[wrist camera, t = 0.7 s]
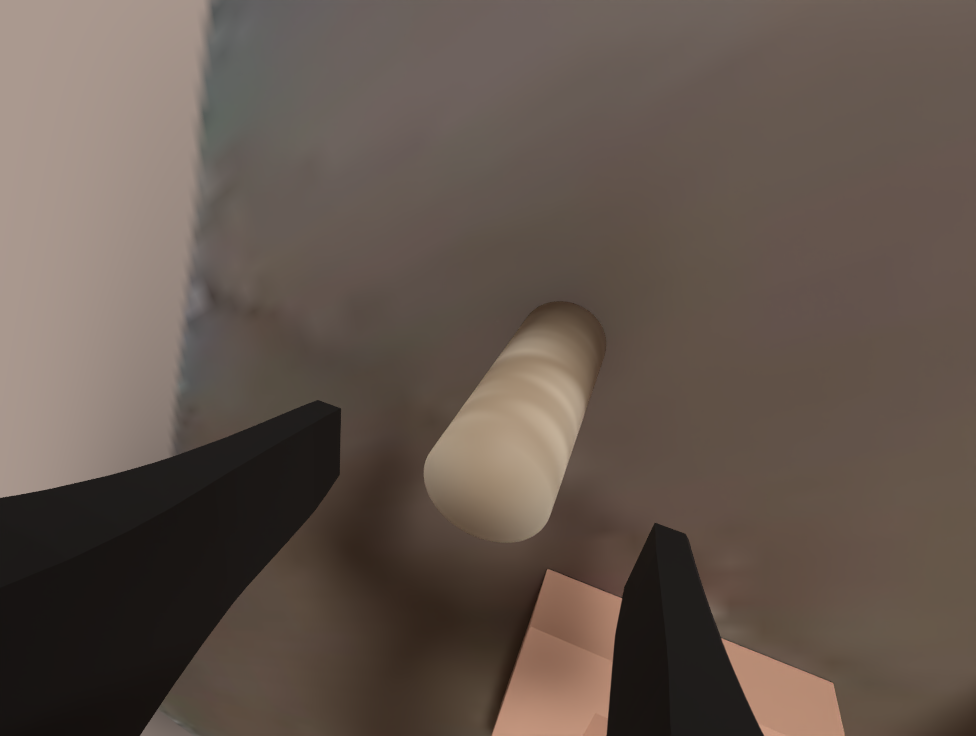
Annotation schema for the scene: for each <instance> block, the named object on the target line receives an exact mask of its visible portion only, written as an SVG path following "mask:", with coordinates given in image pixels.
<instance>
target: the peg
mask: <svg viewBox="0 0 976 736" xmlns="http://www.w3.org/2000/svg"><path fill="white" fill-rule="evenodd" d="M605 351H606V337H605V333H604V330H603V328H602V326H601V324H600V323H599V321H598V320H597V319H596V318H595V316H594V315H593V314H591V313H590V312H589V311H588V310H586V309H585V308H583V307H581V306H579V305H576V304H574V303H570V302H563V301H557V302H550V303H546V304H543V305H541V306H539V307H538V308H536V309H535V310H533V311H532V312H531V313H530V314H529V315H528V317H527V318H526V319H525V321H524V322H523V324H522V325H521V326H520V328H519V329H518V331H517V332H516V333H515V335H514V336H513V337H512V339H511V340H510V342H509V343H508V344H507V346H506V347H505V349H504V350H503V351H502V353H501V354H500V356H499V357H498V358H497V360H496V361H495V363H494V364H493V365H492V367H491V368H490V369H489V371H488V372H487V374H486V375H485V376H484V378H483V379H482V381H481V382H480V383H479V385H478V386H477V388H476V389H475V390H474V392H473V393H472V395H471V396H470V397H469V399H468V400H467V401H466V403H465V404H464V406H463V407H462V408H461V410H460V411H459V413H458V414H457V415H456V417H455V418H454V420H453V421H452V422H451V424H450V425H449V427H448V428H447V429H446V431H445V432H444V433H443V435H442V436H441V438H440V439H439V440H438V442H437V443H436V445H435V446H434V447H433V449H432V450H431V452H430V453H429V455H428V457H427V459H426V462H425V466H424V481H425V486H426V489H427V492H428V494H429V496H430V498H431V500H432V502H433V503H434V505H435V506H436V508H437V509H438V510H439V511H440V512H441V514H442V515H443V516H444V517H445V518H446V519H448V520H449V521H450V522H451V523H452V524H454V525H455V526H457V527H458V528H459V529H461V530H463V531H465V532H466V533H468V534H470V535H473V536H475V537H478V538H481V539H483V540H488V541H492V542H499V543H511V542H518V541H523V540H526V539H528V538H530V537H532V536H534V535H536V534H537V533H538V532H540V531H541V529H542V528H543V527H544V526H545V525H546V523H547V522H548V519H549V517H550V514H551V511H552V508H553V505H554V502H555V500H556V497H557V494H558V491H559V488H560V485H561V482H562V479H563V476H564V473H565V470H566V467H567V464H568V461H569V458H570V455H571V453H572V450H573V447H574V444H575V441H576V438H577V435H578V432H579V429H580V426H581V423H582V420H583V417H584V414H585V411H586V408H587V405H588V403H589V400H590V397H591V394H592V391H593V388H594V385H595V382H596V379H597V376H598V373H599V370H600V367H601V364H602V361H603V358H604V355H605Z"/></svg>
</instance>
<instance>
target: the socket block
mask: <svg viewBox="0 0 976 736" xmlns="http://www.w3.org/2000/svg"><path fill="white" fill-rule="evenodd" d="M621 602H622V598H620V597H617V596H615V595H612V594H610V593H607V592H605V591H602V590H600V589H597V588H595V587H592V586H590V585H587V584H585V583H582V582H580V581H577V580H575V579H572V578H570V577H567V576H565V575H562V574H560V573H557V572H555V571H552V570H550V569H547V571H546V574H545V577H544V580H543V583H542V586H541V589H540V592H539V595H538V598H537V601H536V604H535V606H534V609H533V612H532V615H531V618H530V621H529V624H528V627H527V630H526V633H525V636H524V639H523V641H522V644H521V647H520V650H519V653H518V656H517V659H516V662H515V665H514V668H513V671H512V674H511V677H510V679H509V682H508V685H507V688H506V691H505V694H504V697H503V700H502V703H501V706H500V709H499V712H498V715H497V718H496V722H495V725H494V728H493V731H492V734H491V736H607V723H608V711H609V699H610V687H611V675H612V663H613V652H614V641H615V632H616V627H617V622H618V617H619V612H620V607H621ZM721 639H722V638H721ZM722 642H723V644H724V647H725V650H726V652H727V654H728V657H729V659H730V662H731V664H732V667H733V669H734V671H735V674H736V676H737V678H738V681H739V683H740V685H741V687H742V690H743V692H744V694H745V697H746V699H747V701H748V703H749V705H750V707H751V710H752V712H753V714H754V716H755V718H756V720H757V722H758V724H759V726H760V728H761V730H762V732H763V734H764V736H845V734H844V730H843V725H842V721H841V716H840V712H839V707H838V703H837V698H836V694H835V689H834V685H833V683H832V682H829V681H827V680H824V679H822V678H819V677H817V676H814V675H812V674H809V673H807V672H804V671H802V670H799V669H797V668H794V667H792V666H789V665H787V664H784V663H782V662H779V661H777V660H774V659H772V658H769V657H767V656H764V655H762V654H759V653H757V652H754V651H752V650H749V649H747V648H744V647H742V646H739V645H737V644H734V643H732V642H729V641H727V640H724V639H722Z"/></svg>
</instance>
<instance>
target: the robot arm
mask: <svg viewBox="0 0 976 736" xmlns="http://www.w3.org/2000/svg"><path fill="white" fill-rule="evenodd" d="M340 429H341V408H338V407H335V406H333V405H330V404H327V403H324V402H322V401H319V400H317V401H314V402H312V403H309V404H306V405H304V406H301V407H299V408H296V409H294V410H292V411H289V412H287V413H284V414H282V415H280V416H277V417H275V418H272V419H270V420H268V421H265V422H263V423H260V424H258V425H256V426H253V427H251V428H248V429H246V430H243V431H241V432H238V433H236V434H233V435H231V436H228V437H226V438H223V439H221V440H218V441H215V442H212V443H210V444H207V445H204V446H201V447H199V448H196V449H193V450H190V451H188V452H185V453H182V454H179V455H177V456H173V457H170V458H167V459H164V460H161V461H158V462H155V463H152V464H148V465H145V466H141V467H138V468H134V469H131V470H127V471H124V472H120V473H117V474H113V475H109V476H105V477H101V478H96V479H92V480H88V481H83V482H79V483H74V484H70V485H66V486H61V487H57V488H53V489H48V490H43V491H38V492H32V493H27V494H21V495H16V496H10V497H3V498H0V736H140V734H141V733H142V731H143V730H144V728H145V727H146V725H147V724H148V722H149V721H150V720H151V718H152V717H153V715H154V714H155V712H156V711H157V709H158V708H159V706H160V705H161V703H162V702H163V700H164V699H165V697H166V696H167V694H168V693H169V691H170V690H171V688H172V687H173V685H174V684H175V682H176V681H177V680H178V678H179V677H180V675H181V674H182V672H183V671H184V670H185V668H186V667H187V665H188V664H189V663H190V661H191V660H192V658H193V657H194V655H195V654H196V653H197V651H198V650H199V648H200V647H201V646H202V644H203V643H204V641H205V640H206V639H207V637H208V636H209V635H210V633H211V632H212V631H213V629H214V628H215V627H216V625H217V624H218V623H219V621H220V620H221V619H222V617H223V616H224V615H225V613H226V612H227V610H228V609H229V608H230V606H231V605H232V604H233V603H234V601H235V600H236V599H237V598H238V597H239V595H240V594H241V593H242V592H243V591H244V589H245V588H246V587H247V586H248V585H249V584H250V583H251V582H252V580H253V579H254V578H255V577H256V576H257V575H258V574H259V573H260V572H261V570H262V569H263V568H264V567H265V566H266V565H267V564H268V563H269V562H270V560H271V559H272V558H273V557H274V556H275V555H276V554H277V553H278V552H279V550H280V549H281V548H282V547H283V546H284V545H285V544H286V543H287V542H288V541H289V539H290V538H291V537H292V536H293V535H294V534H295V533H296V532H297V530H298V529H299V528H300V527H301V526H302V525H303V524H304V523H305V521H306V520H307V519H308V518H309V517H310V516H311V515H312V513H313V512H314V511H315V510H316V508H317V507H318V506H319V504H320V503H321V501H322V500H323V498H324V497H325V496H326V494H327V493H328V491H329V490H330V488H331V487H332V485H333V484H334V482H335V481H336V479H337V478H338V476H339V475H340ZM607 736H764V734H763V732H762V730H761V728H760V726H759V724H758V722H757V720H756V718H755V716H754V714H753V712H752V710H751V707H750V705H749V703H748V701H747V699H746V697H745V694H744V692H743V690H742V687H741V685H740V683H739V681H738V678H737V676H736V674H735V671H734V669H733V667H732V664H731V662H730V659H729V657H728V654H727V652H726V650H725V647H724V644H723V642H722V639H721V637H720V634H719V631H718V629H717V626H716V623H715V621H714V618H713V615H712V613H711V610H710V607H709V604H708V601H707V598H706V595H705V592H704V589H703V586H702V583H701V580H700V577H699V574H698V571H697V567H696V564H695V561H694V557H693V554H692V550H691V546H690V543H689V540H688V538H687V536H686V534H684V533H682V532H679V531H676V530H673V529H671V528H668V527H665V526H662V525H660V524H657V523H655V524H654V526H653V528H652V530H651V532H650V534H649V536H648V538H647V540H646V543H645V545H644V547H643V549H642V551H641V553H640V555H639V557H638V559H637V562H636V564H635V566H634V568H633V570H632V572H631V574H630V576H629V578H628V581H627V583H626V585H625V587H624V592H623V597H622V602H621V607H620V612H619V617H618V622H617V627H616V632H615V641H614V652H613V663H612V675H611V687H610V699H609V711H608V723H607Z"/></svg>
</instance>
